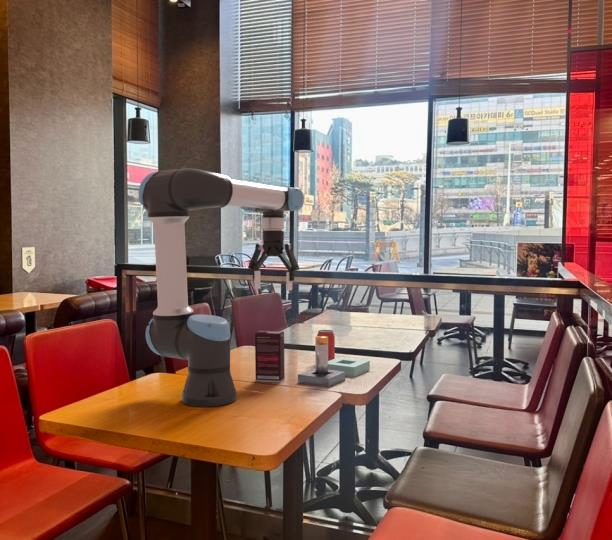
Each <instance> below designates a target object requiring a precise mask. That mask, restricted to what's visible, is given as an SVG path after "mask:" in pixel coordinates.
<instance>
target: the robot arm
mask: <svg viewBox="0 0 612 540" xmlns="http://www.w3.org/2000/svg"><path fill="white" fill-rule="evenodd" d="M138 199H139V203H140V205H141V206H142V208H143V209H144V210H146V211H147V218H148V220H149V221H150V222H151V223H153V228H154V229H153V230H154V231H153V232H154V234H153V235H154V253H155V274H156V276H155V277H156V291H157V292H156V294H157V308H156V309H154V310H153V312H152V318H151V319H149V320H150V321H149V322H148V325H147V326H146V328H145V340H146V341H145V342H146V343H147V345H148V347H149V349H150V350H151V351H152V352H153V353H155V354H156V355H159V356H162V357H164V358H169V359H170V358H172V359H179V360H185V361H186V360H187V367H188V368H187V369H188V371H187V376H186V380H185V383H184V386H183V390H182V392H181V402H182V403H183V404H185V405H187V406H191V407H202V408H203V407H204V408H210V407H211V408H212V407H220V406H224V405H225V406H226V405H229V404H232V403H234V402H236V401H237V389H236V386H235V384H234V380H233V377H232V373H231V336H232V335H231V330H230V329H231V327H230V323H229V321H228V320H227V319H226V318H224V317H222V316H218V315H214V314H213V315H212V314H194V309H193V308H192V307H191V306H190V305H189V299H188V298H189V297H188V275H187V274H188V273H187V272H188V271H187V253H186V252H187V251H186V248H187V247H186V229H185V228H186V227H185V223H186V222H187V221H188V220H189V218H190V211H197V210H203V209H211V208H216V209H223V208H225V207H227V206H232V207H240V209H241V210H243V211H244V212H249V213H262V230H263V231H262V241H263V242H262V243H255V248H254V252H253V254H252V257H251V259H250V261H249V264H248V269H249V270H251V271H252V279H253V280H254V290H260V289H261V270H260V268H261V267H262V265H263V264H264V263H265V262H266V260H267V259H268V258H269V257H277V258H279V259H280V261H281V262H282V264H283V265H284V267H285V268H286V270H287V271H286V291H293V282H294V281H295V272H296V271H298V270H300V266H299V264H298V261H297V259H296V256H295V254H294V252H293V248H292V244H291V243H285V244H284V240H285V232H284V227H285V214H284V212H294V211H299V210H301V209H302V208H303V206H304V203H305V196H304V192H303V191H302V189H301V188H300V187H292V186H291V187H282V186H277V185H269V184H264V183H257V182H250V181H243V180H239V179H233V178H230V177H229V176H228V175H226V174H223V173H217V172H213V171H208V170H203V169H199V168H191V167H190V168H189V167H187V168H180V169H179V168H178V169H167V170H166V169H163V170H158V171H155V172H151V173H149V174H147V175H146V176H145V177H144V178H143V179H142V181H141V182H140V183H139V187H138ZM262 250H263V252H262ZM283 250H284V251H285V252H284V251H283ZM285 253H286V254H285ZM260 255H261V256H260Z"/></svg>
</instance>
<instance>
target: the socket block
mask: <svg viewBox="0 0 612 540" xmlns="http://www.w3.org/2000/svg"><path fill="white" fill-rule="evenodd" d="M370 365H371V361H370V360H366V359H365V360H364V359H356V358H349V357H348V358H346V357H341V356H340V357H336V358H335V359H333V360H330V361H328V370H335V371H343V372H345V377H346V376H347V377H355V378H356V377H357V376H359V375H362V374H364V373H368V372H370V371H371V370H370V368H371V366H370ZM369 370H370V371H369ZM367 371H368V372H367Z"/></svg>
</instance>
